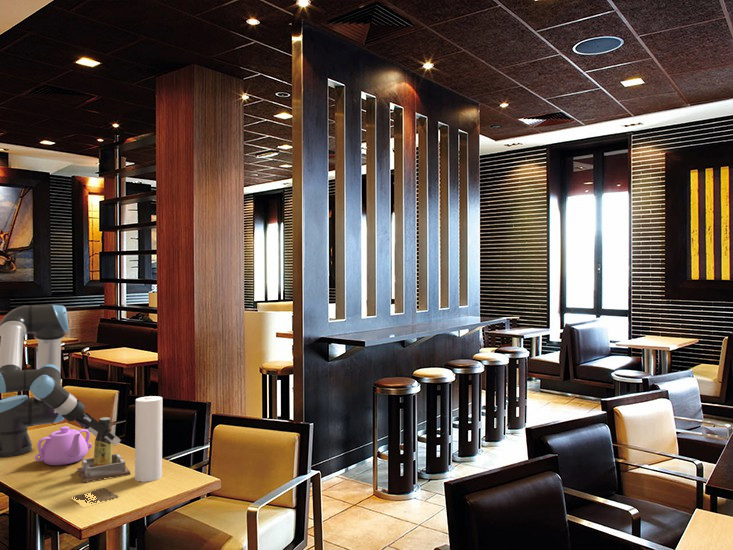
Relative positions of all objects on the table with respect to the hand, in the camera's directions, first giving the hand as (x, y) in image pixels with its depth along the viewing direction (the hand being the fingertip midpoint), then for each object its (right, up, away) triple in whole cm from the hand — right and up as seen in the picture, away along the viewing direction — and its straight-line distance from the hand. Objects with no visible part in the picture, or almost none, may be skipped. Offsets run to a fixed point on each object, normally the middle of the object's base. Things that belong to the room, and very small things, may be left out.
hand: (109, 439), depth 215 cm
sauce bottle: (-2, -11, -2) cm, 12 cm away
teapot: (-22, -12, +10) cm, 28 cm away
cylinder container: (+18, -12, -7) cm, 23 cm away
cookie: (+7, -13, -26) cm, 30 cm away
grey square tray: (-2, -12, -2) cm, 12 cm away
